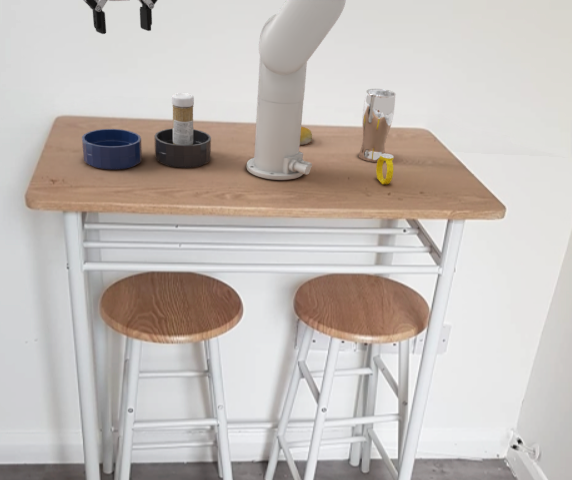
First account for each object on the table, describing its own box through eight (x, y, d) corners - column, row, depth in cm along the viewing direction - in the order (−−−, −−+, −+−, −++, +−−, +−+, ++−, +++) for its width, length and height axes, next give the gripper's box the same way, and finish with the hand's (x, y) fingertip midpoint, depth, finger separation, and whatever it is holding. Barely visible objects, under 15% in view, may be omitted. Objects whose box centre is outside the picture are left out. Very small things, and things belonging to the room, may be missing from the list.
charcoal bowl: (221, 160, 157) (222, 137, 154) (183, 172, 148) (183, 149, 145) (182, 146, 162) (182, 124, 160) (143, 158, 154) (142, 135, 151)
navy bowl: (153, 161, 152) (152, 138, 150) (110, 175, 144) (108, 151, 141) (115, 147, 158) (114, 125, 156) (71, 159, 150) (69, 136, 147)
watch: (371, 177, 154) (375, 150, 151) (383, 176, 155) (387, 150, 152) (381, 187, 150) (386, 160, 146) (394, 187, 150) (398, 160, 147)
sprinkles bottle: (180, 152, 158) (179, 90, 150) (197, 156, 156) (198, 94, 149) (168, 157, 154) (167, 95, 147) (185, 162, 152) (185, 99, 145)
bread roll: (293, 148, 167) (295, 131, 165) (269, 137, 173) (270, 121, 171) (319, 142, 172) (321, 126, 170) (295, 132, 177) (296, 116, 175)
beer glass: (358, 151, 169) (367, 86, 161) (387, 155, 168) (397, 90, 160) (355, 160, 163) (363, 94, 155) (385, 164, 162) (395, 98, 154)
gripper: (82, -67, 123) (91, 37, 132) (169, -66, 132) (172, 32, 141) (64, -71, 127) (74, 30, 137) (150, -70, 137) (153, 25, 146)
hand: (123, 31), depth 139 cm, fingers open, 9 cm apart
